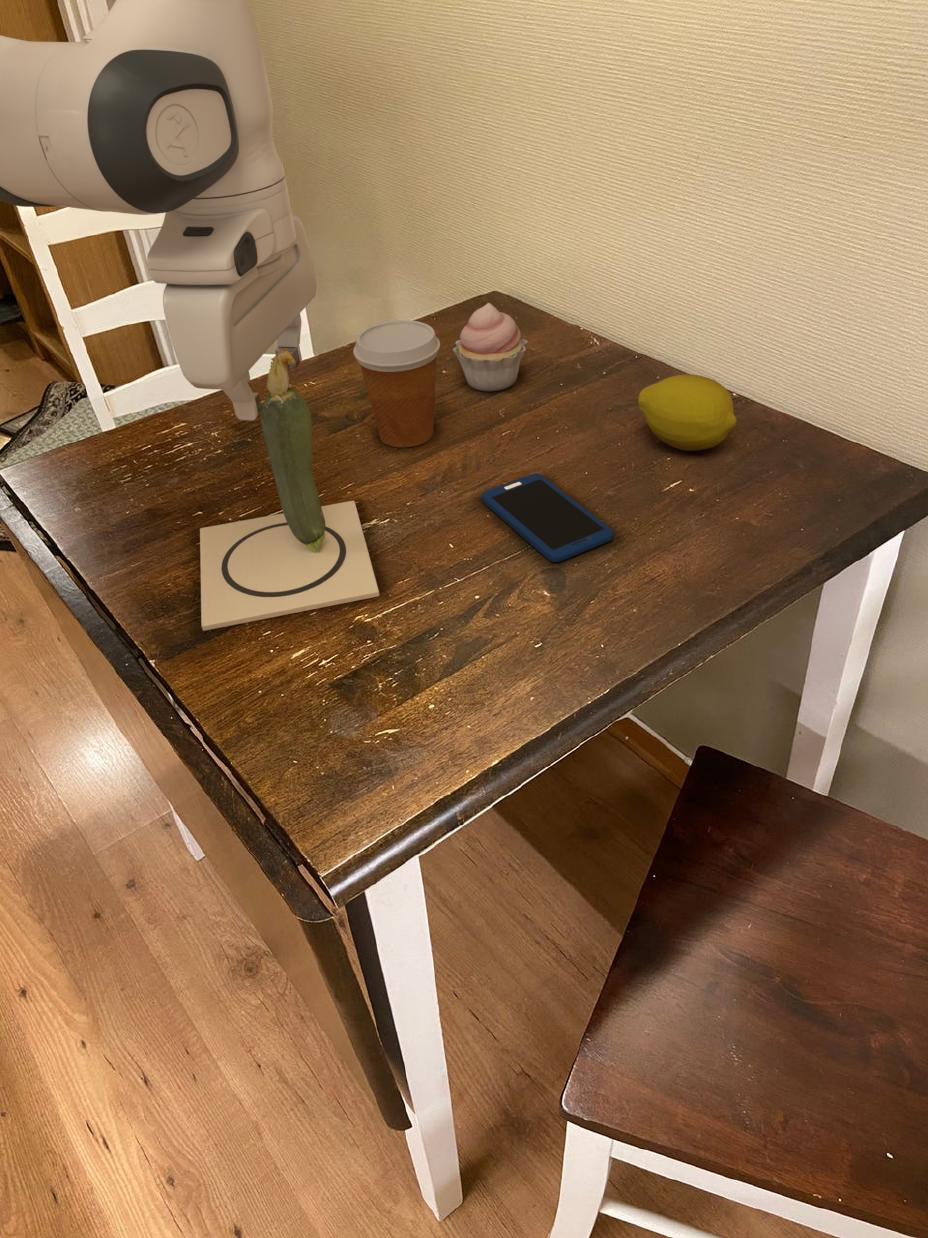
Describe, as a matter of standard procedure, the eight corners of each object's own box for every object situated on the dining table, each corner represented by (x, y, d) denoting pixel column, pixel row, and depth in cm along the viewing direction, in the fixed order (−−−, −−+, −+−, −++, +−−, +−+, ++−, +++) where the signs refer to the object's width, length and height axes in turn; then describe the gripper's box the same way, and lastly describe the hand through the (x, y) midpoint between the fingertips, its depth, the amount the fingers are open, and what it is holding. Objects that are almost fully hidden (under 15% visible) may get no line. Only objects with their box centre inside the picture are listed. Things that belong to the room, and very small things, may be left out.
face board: (203, 631, 78) (200, 625, 78) (201, 532, 90) (199, 526, 90) (379, 596, 81) (378, 590, 80) (355, 504, 93) (354, 498, 92)
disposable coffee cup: (351, 447, 102) (335, 348, 94) (389, 410, 108) (377, 314, 101) (425, 460, 99) (415, 358, 91) (460, 421, 105) (453, 323, 97)
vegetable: (281, 552, 86) (233, 356, 73) (304, 528, 88) (262, 335, 76) (321, 561, 84) (279, 362, 71) (342, 536, 87) (306, 340, 74)
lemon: (746, 444, 97) (757, 376, 92) (710, 475, 93) (720, 405, 88) (661, 417, 103) (666, 352, 98) (623, 445, 98) (627, 378, 93)
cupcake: (538, 369, 114) (537, 292, 108) (513, 401, 108) (511, 322, 101) (471, 361, 117) (467, 286, 111) (444, 392, 111) (437, 314, 104)
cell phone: (537, 477, 94) (536, 470, 94) (617, 539, 85) (617, 532, 84) (478, 498, 92) (477, 492, 91) (554, 565, 82) (554, 559, 82)
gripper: (249, 184, 76) (281, 339, 85) (133, 268, 61) (186, 446, 70) (318, 183, 74) (343, 341, 83) (218, 269, 59) (261, 450, 68)
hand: (271, 390), depth 76 cm, fingers open, 8 cm apart
